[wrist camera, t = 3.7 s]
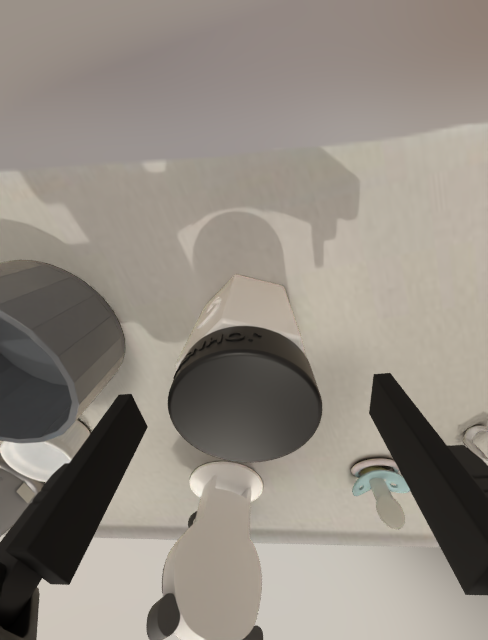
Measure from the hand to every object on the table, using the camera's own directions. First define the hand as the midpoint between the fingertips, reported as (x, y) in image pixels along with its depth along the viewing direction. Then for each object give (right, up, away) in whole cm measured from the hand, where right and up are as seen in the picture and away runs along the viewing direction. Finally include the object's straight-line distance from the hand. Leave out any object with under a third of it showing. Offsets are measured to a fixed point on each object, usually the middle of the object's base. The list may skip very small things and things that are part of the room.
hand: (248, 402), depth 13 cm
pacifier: (+18, -16, +20) cm, 32 cm away
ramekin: (-25, -11, +19) cm, 33 cm away
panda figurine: (-3, -21, +23) cm, 31 cm away
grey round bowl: (-21, +3, +12) cm, 24 cm away
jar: (0, +5, +10) cm, 11 cm away
